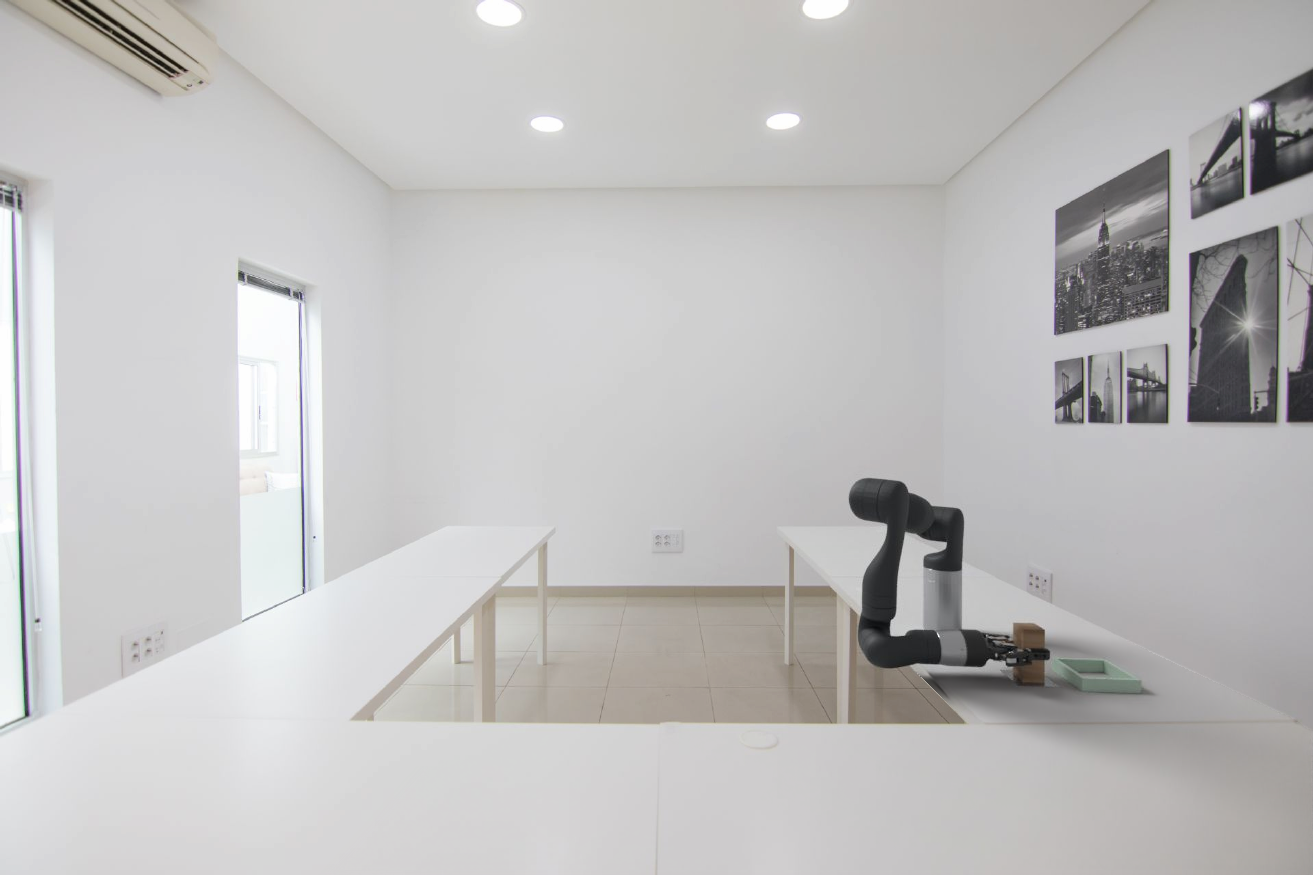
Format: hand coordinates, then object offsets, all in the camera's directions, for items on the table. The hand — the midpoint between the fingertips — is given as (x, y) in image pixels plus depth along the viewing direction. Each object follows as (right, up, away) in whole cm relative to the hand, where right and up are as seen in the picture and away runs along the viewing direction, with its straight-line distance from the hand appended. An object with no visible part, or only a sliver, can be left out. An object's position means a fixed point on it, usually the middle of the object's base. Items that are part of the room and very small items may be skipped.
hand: (1042, 650), depth 125 cm
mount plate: (-3, -7, 0) cm, 8 cm away
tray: (+10, -7, -1) cm, 12 cm away
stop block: (-3, -6, 0) cm, 7 cm away
